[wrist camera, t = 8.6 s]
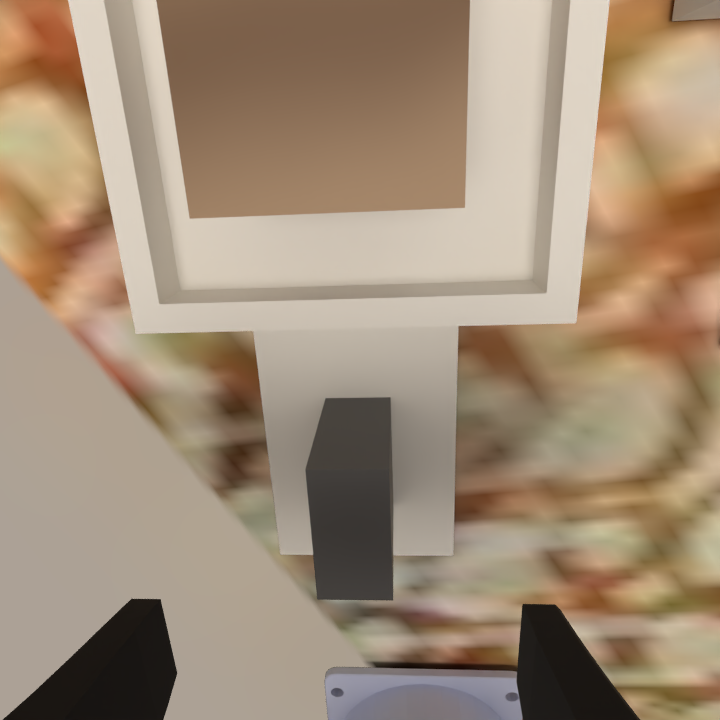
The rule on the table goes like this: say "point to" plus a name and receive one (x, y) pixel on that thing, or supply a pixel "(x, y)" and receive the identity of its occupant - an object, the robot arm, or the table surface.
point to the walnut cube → (318, 104)
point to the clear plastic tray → (696, 10)
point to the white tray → (362, 275)
